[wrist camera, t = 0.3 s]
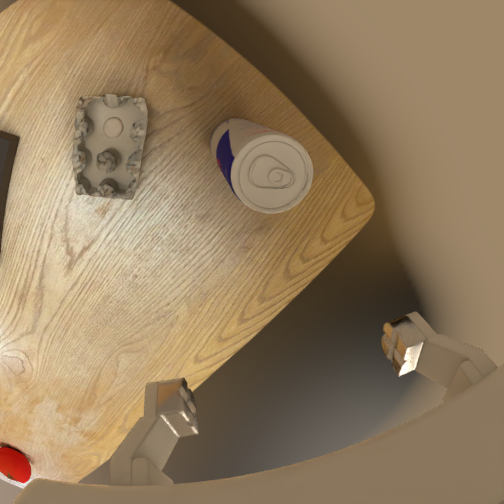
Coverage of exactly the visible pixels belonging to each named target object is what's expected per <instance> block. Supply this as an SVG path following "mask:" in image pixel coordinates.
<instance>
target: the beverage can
mask: <svg viewBox="0 0 504 504" xmlns="http://www.w3.org/2000/svg"><path fill="white" fill-rule="evenodd" d="M210 150H211V153H212V155H213V157H214V159H215V160H216V162H217V164H218V166H219V168H220V169H221V171H222V173H223V175H224V177H225V178H226V180H227V182H228V184H229V186H230V187H231V189H232V191H233V193H234V194H235V195H236V197H237V198H238V199H239V200H240V201H241V202H242V203H244V204H245V205H246V206H248V207H249V208H251V209H253V210H255V211H258V212H262V213H271V214H273V213H280V212H284V211H286V210H289V209H291V208H293V207H294V206H296V205H297V204H298V203H299V202H300V201H301V200H302V199H303V198H304V197H305V196H306V194H307V193H308V191H309V189H310V187H311V183H312V179H313V166H312V162H311V159H310V156H309V155H308V153H307V151H306V150H305V148H304V147H303V146H302V145H301V144H299V143H298V142H297V141H296V140H295V139H294V138H293V137H291V136H289V135H287V134H285V133H282V132H280V131H277V130H274V129H271V128H268V127H266V126H263V125H260V124H257V123H254V122H251V121H248V120H245V119H241V118H232V119H228V120H225V121H223V122H222V123H220V124H219V125H218V126H217V127H216V128H215V129H214V131H213V133H212V135H211V138H210Z"/></svg>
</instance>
